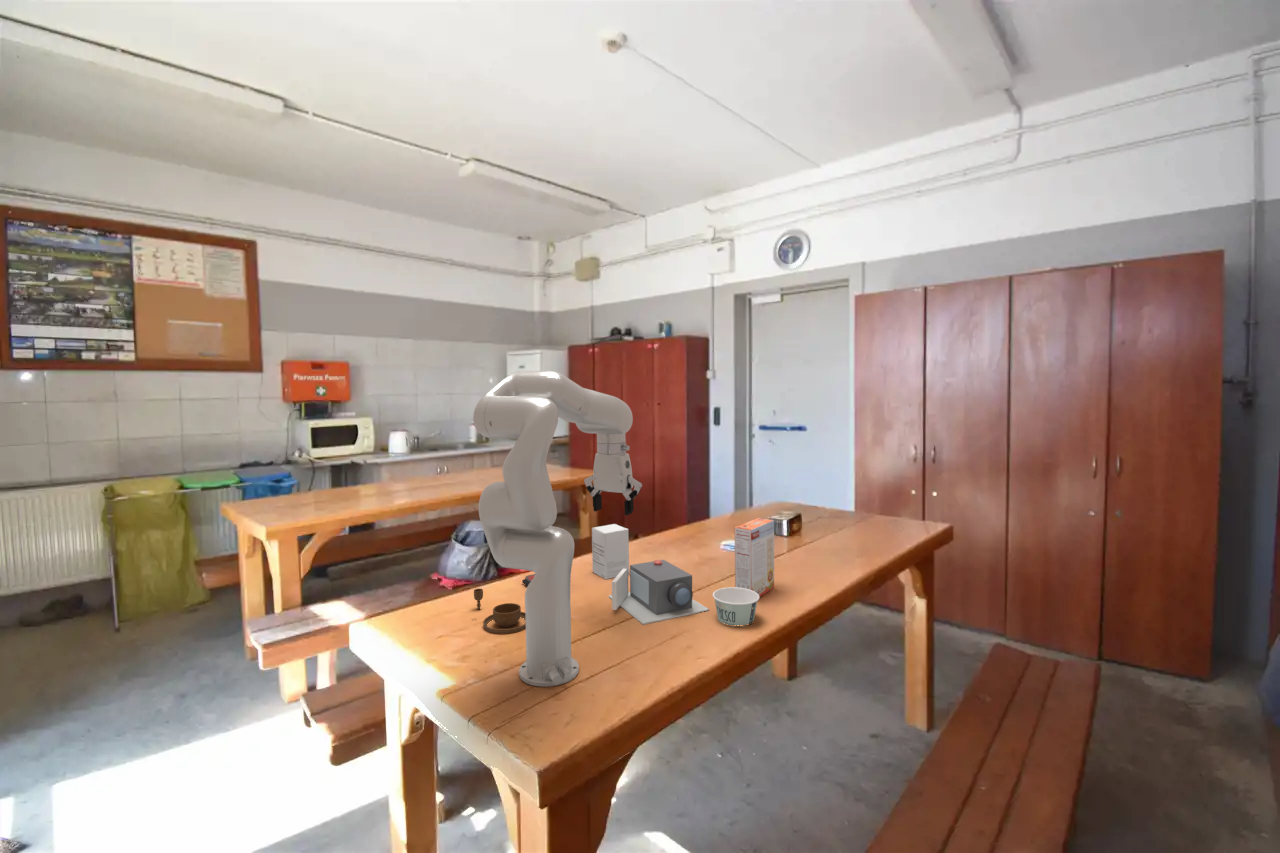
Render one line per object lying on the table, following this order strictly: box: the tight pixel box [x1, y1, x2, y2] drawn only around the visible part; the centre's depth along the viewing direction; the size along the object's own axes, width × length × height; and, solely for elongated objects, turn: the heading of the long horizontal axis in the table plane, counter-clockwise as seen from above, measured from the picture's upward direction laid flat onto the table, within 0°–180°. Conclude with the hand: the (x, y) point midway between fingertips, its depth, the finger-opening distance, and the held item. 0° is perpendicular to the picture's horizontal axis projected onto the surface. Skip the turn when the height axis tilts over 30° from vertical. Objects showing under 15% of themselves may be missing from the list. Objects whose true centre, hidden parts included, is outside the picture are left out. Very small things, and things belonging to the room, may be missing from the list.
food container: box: [712, 586, 761, 627], centre depth 154 cm, size 12×12×6 cm
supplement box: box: [591, 523, 630, 580], centre depth 191 cm, size 9×9×15 cm
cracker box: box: [734, 517, 775, 598], centre depth 172 cm, size 14×6×21 cm, turn 141°
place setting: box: [470, 588, 526, 634], centre depth 155 cm, size 18×20×6 cm
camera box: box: [608, 559, 710, 626], centre depth 165 cm, size 22×20×10 cm
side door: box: [611, 567, 629, 611], centre depth 164 cm, size 13×1×8 cm, turn 166°
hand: (613, 512), depth 159 cm, fingers open, 9 cm apart
